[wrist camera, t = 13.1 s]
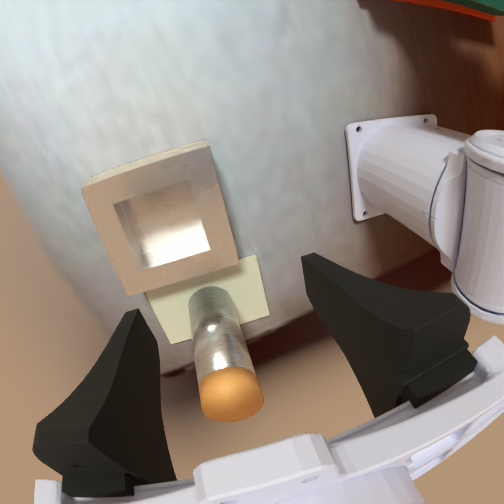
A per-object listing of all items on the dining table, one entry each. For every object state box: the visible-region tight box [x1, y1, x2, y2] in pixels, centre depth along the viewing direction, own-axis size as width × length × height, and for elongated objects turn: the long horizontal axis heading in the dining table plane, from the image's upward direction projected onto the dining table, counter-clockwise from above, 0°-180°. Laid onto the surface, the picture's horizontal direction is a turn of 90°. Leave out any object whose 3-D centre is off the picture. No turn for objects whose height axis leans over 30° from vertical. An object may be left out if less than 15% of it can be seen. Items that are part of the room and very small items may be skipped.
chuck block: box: [81, 139, 240, 297], centre depth 20 cm, size 8×8×3 cm
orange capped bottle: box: [188, 286, 264, 422], centre depth 21 cm, size 4×4×10 cm
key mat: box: [145, 255, 270, 344], centre depth 25 cm, size 9×6×1 cm, turn 102°
